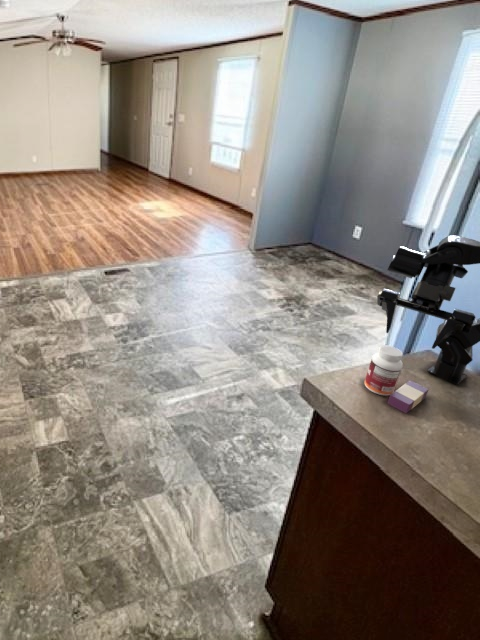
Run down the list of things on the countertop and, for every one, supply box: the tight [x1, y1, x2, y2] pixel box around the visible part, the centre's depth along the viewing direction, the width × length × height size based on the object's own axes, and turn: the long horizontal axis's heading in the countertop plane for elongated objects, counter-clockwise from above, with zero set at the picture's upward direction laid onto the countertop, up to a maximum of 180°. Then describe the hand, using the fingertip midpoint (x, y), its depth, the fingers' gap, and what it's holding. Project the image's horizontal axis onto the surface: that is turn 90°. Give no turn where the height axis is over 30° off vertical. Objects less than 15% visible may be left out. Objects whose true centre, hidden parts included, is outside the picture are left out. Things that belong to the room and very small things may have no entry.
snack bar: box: [386, 380, 430, 414], centre depth 99 cm, size 10×4×2 cm, turn 123°
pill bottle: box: [364, 344, 404, 397], centre depth 101 cm, size 6×6×11 cm
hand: (409, 340), depth 100 cm, fingers open, 9 cm apart
